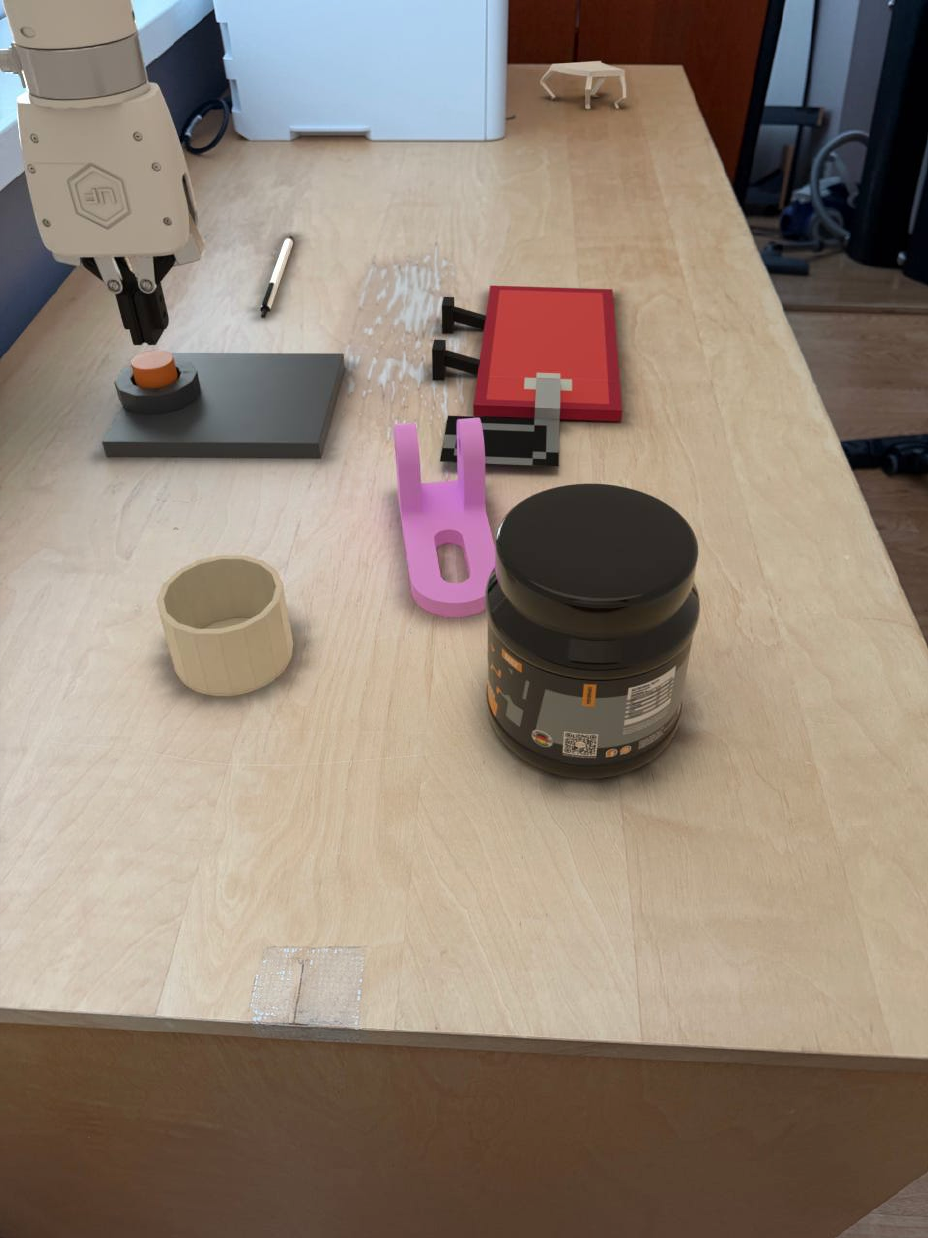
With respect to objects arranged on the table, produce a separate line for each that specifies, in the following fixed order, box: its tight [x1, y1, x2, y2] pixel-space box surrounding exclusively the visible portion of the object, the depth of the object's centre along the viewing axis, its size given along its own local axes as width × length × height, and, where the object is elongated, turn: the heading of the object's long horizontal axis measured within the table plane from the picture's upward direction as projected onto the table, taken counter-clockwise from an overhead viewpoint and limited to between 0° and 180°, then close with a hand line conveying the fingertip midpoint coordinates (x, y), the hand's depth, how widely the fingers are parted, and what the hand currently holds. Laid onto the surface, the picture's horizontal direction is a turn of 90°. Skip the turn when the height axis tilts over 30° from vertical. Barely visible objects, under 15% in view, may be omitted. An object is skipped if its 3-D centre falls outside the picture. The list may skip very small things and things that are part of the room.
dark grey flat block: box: [101, 352, 346, 460], centre depth 81 cm, size 16×14×3 cm
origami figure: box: [539, 60, 627, 110], centre depth 142 cm, size 12×8×5 cm
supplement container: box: [484, 483, 701, 779], centre depth 53 cm, size 10×10×12 cm
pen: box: [259, 235, 294, 318], centre depth 101 cm, size 1×19×1 cm, turn 0°
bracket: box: [393, 418, 495, 618], centre depth 65 cm, size 13×6×7 cm, turn 7°
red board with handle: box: [431, 285, 623, 467], centre depth 84 cm, size 30×3×15 cm
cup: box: [156, 554, 294, 697], centre depth 59 cm, size 7×7×5 cm
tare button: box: [130, 349, 178, 388], centre depth 80 cm, size 3×3×2 cm
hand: (149, 336), depth 78 cm, fingers closed
